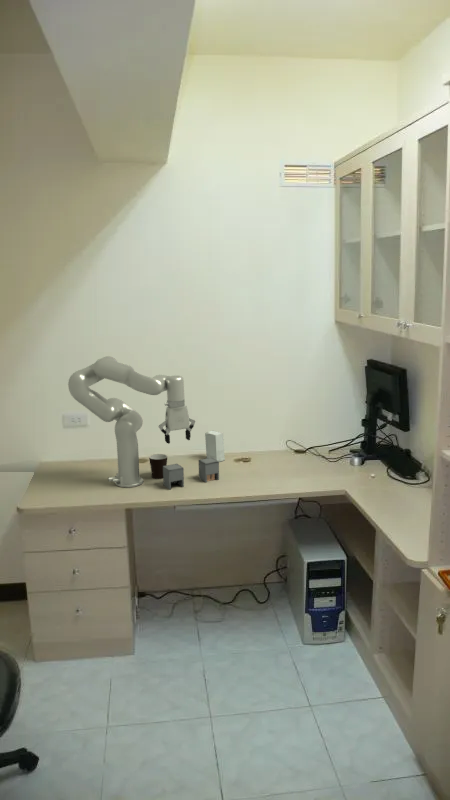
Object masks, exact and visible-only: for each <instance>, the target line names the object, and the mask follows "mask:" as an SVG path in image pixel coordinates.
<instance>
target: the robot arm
mask: <svg viewBox="0 0 450 800" xmlns="http://www.w3.org/2000/svg"><path fill="white" fill-rule="evenodd" d="M104 379H106V380H109V381H112V382H116V383H119V384H123V385H125V386H126V387H129V388H130V389H133V390H134V391H137V392H139V393H143V394H146V395H150V396H159V395H160V394H161V393H163V392H165V391H166V397H167V398H166V399H167V400H166V402H164V407H165V406H166V407H165V415H164V417H165V418H164V419H165V420H164V421H163V422H162V423H160V424H159V425H157V426H158V428H159V430H160V432H162V434H164V441H165V443H166V444H168V445H169V444H170V443H171V439H170V438H171V437H170V436H171V435H170V433H171V431H180V430H184V429H185V432H184V433H185V440H187V441H191V432H192V430H193V429H194V427H195V423H196V420H195V419H192V418H190V416H189V409H188V407H187V405H186V404H185V402H186V401H185V383H184V382H185V381H184V377H183V375H165V374H157V375H155V376H153V377H150V376H146V375H143V374H141V373H138V372H136V371H135V369H134V367H133V366H131V365H130V364H129V365H128V364H124V363H121V362H118V360H117V359H116V358H114V357H113V356H109V355H108V356H103V357H101V358H99V359H97V360H96V361H95V362H94V363H92V364H90V365H89V366H86V367H84V368H81V369H78V370H75V372H73V373H71V375H70V376H69V379H68V383H67V385H68V392H69V393H70V395H71V397H72V398H73V399H74V400H75V401H76V402H78V404H80V405H82V406H83V407H85V408H86V409H87V410H88V411H89V412H91V413H92V414H93V415H95V416H96V417H97V418H99V419H100V420H101V421H102V422H105V423H111V422H114V420H115V422H116V423H115V425H114V434H115V439H116V452H117V470H118V471H117V473H116V475H114V476H110V477H107V481H108V482H110V483H111V482H112V483H115V486H118V487H121V488H134V487H138V486H140V485H142V484H144V479H143V477H140V457H139V442H138V441H139V440H138V436H137V432H138V431H139V430H140V429H141V428H142V426H143V424H144V421H143V420H144V419H143V417H142V416H141V414H140V413H139V412H138V411H136V410H135V409H134V408H133V407H131V406H129V405H128V404H127V403H126V402H124V401H123V400H122V399H120V398H117V397H110V398H108V399H107V398H105V397H104V396H103V395H101V394H100V393H98V392H97V391H96V390H93V389H91V388H90V387H91V386H93V385H95V384H97V383H99V382H100V381H102V380H104ZM164 427H165V428H164Z"/></svg>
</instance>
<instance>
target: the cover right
mask: <svg viewBox="0 0 450 800" xmlns="http://www.w3.org/2000/svg"><path fill="white" fill-rule="evenodd" d="M210 474H215V480H217V481H219V480H220V462H219V461H217V460H215V459H214V458H207V457H206V458H201V459H198V479H199V480H200V481H202V482H204V483H208V481H207V475H210Z"/></svg>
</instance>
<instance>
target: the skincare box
mask: <svg viewBox="0 0 450 800" xmlns="http://www.w3.org/2000/svg"><path fill="white" fill-rule="evenodd" d="M204 437H205V454H206V458H214V459H215V460H217V461H219V463H220V462H224V461H225V459H226V458H225V457H226V456H225V442H224V440H225V439H224V432H220V431H216V430H210V431H207V432H206V431H205V432H204Z"/></svg>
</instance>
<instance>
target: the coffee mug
mask: <svg viewBox="0 0 450 800" xmlns="http://www.w3.org/2000/svg"><path fill="white" fill-rule="evenodd" d="M148 459H149V460H148V461H149V466H150V473H151V478H153V479H154V480H163V466H166V465H168V454H164V453H156V454H151V455H149V456H148Z"/></svg>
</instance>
